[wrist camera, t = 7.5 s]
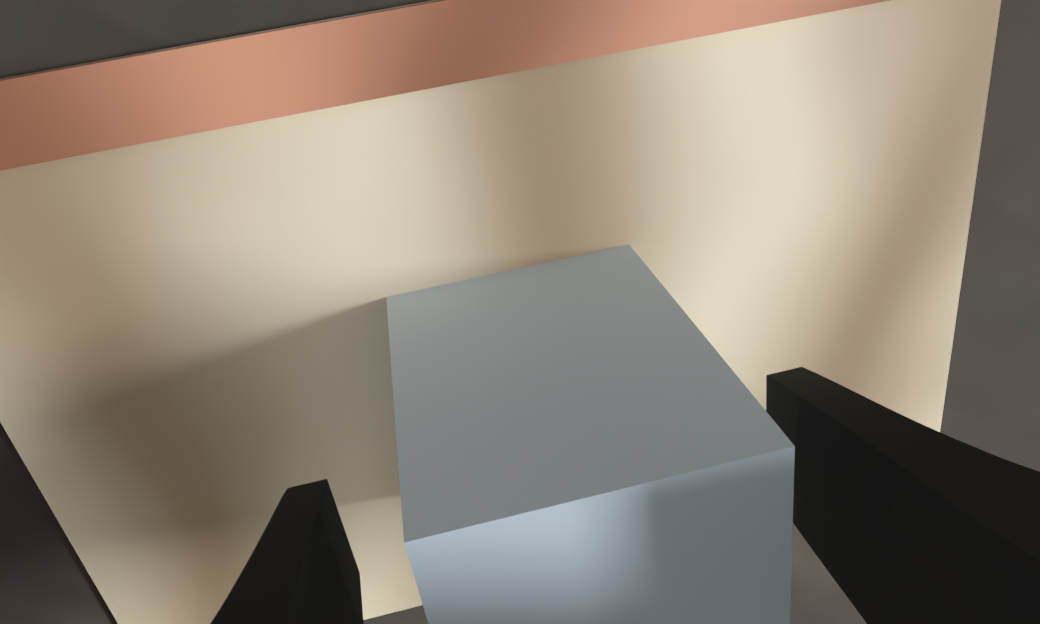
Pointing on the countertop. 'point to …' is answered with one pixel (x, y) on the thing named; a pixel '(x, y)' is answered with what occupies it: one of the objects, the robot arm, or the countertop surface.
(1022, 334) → the countertop surface
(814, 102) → the mat
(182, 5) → the countertop surface
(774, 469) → the block
